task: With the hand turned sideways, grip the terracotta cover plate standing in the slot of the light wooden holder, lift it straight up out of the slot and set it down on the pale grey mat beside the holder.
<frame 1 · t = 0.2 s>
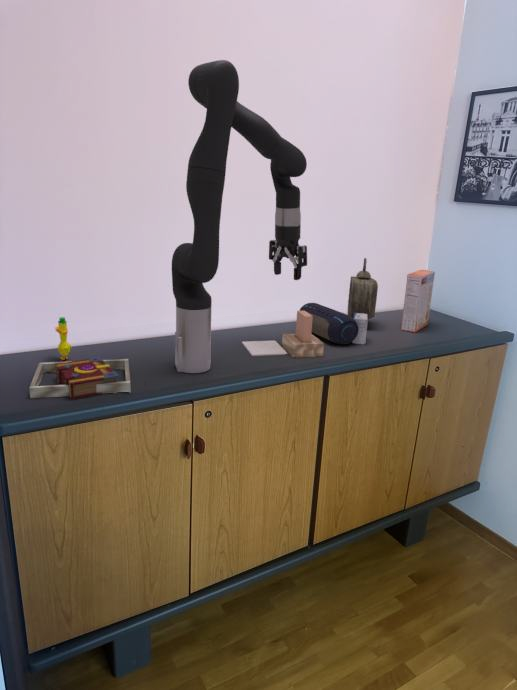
hand: (287, 276, 155), 22 cm above the sideboard top, tool pointing down, fingers open, 8 cm apart
portable speaker: (324, 337, 173), on the sideboard top, touching medicine box
toy figure: (64, 359, 140), on the sideboard top
cover plate: (303, 332, 155), in the plate holder
decorative book: (86, 386, 124), resting in display tray
plate holder: (301, 351, 157), on the sideboard top
medicine box: (358, 341, 170), on the sideboard top, touching portable speaker
mat: (264, 348, 157), on the sideboard top
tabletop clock: (359, 326, 189), on the sideboard top
cracker box: (413, 328, 190), on the sideboard top
display tray: (83, 381, 125), on the sideboard top
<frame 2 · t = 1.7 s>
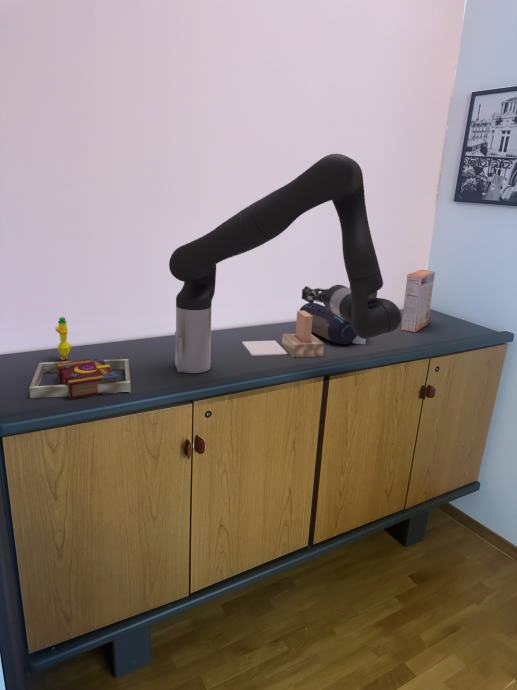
hand: (319, 289, 141), 21 cm above the sideboard top, tool horizontal, fingers open, 8 cm apart
portable speaker: (324, 337, 173), on the sideboard top
medicine box: (358, 341, 170), on the sideboard top
everything else where it was.
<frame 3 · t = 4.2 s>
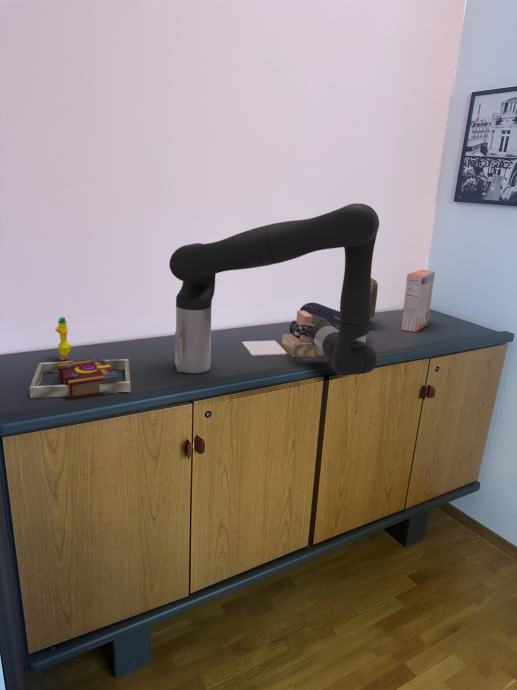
hand: (307, 323, 151), 10 cm above the sideboard top, tool horizontal, fingers open, 8 cm apart
nothing on the sideboard top moved.
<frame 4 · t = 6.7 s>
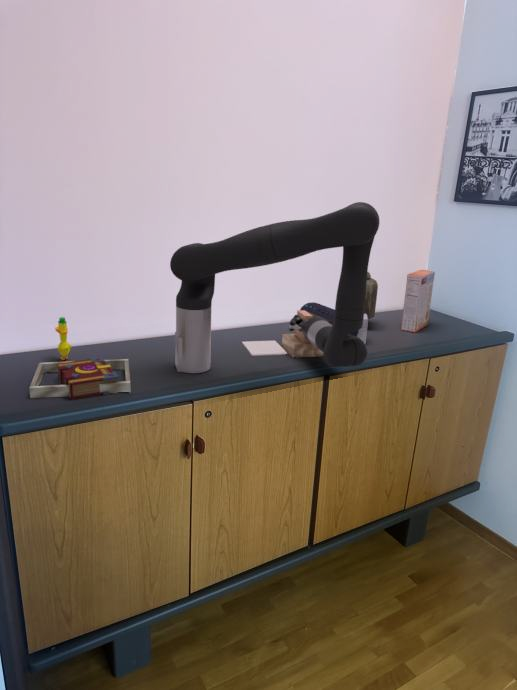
hand: (300, 317, 157), 10 cm above the sideboard top, tool horizontal, fingers closed on cover plate, 2 cm apart
cover plate: (303, 332, 155), in the plate holder, touching gripper
everything else where it was.
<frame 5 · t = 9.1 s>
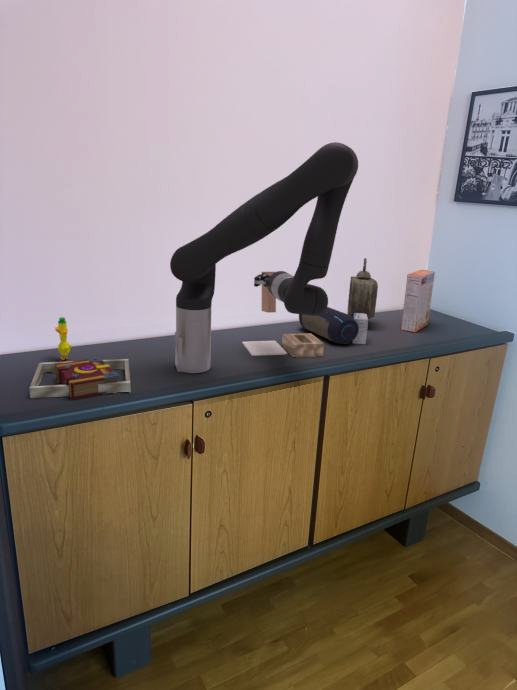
hand: (267, 276, 154), 22 cm above the sideboard top, tool horizontal, fingers closed on cover plate, 2 cm apart
cover plate: (268, 291, 154), point 18 cm above the sideboard top, tilted 10°, touching gripper
everything else where it was.
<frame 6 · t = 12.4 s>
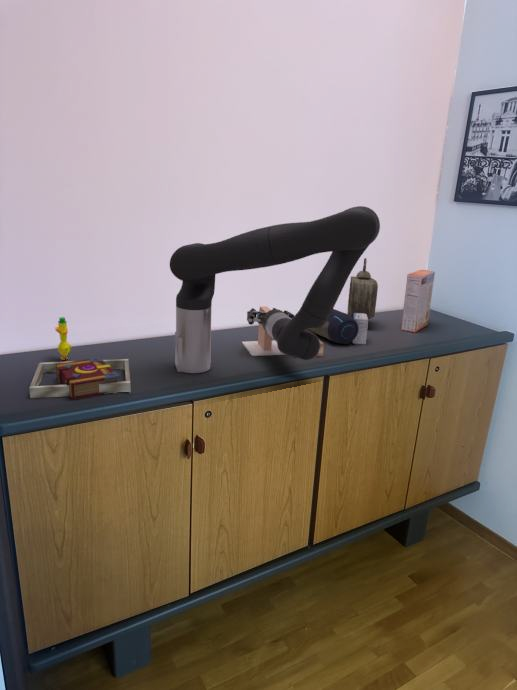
hand: (262, 311, 157), 11 cm above the sideboard top, tool horizontal, fingers open, 6 cm apart
cover plate: (265, 328, 156), on the mat
everything else where it was.
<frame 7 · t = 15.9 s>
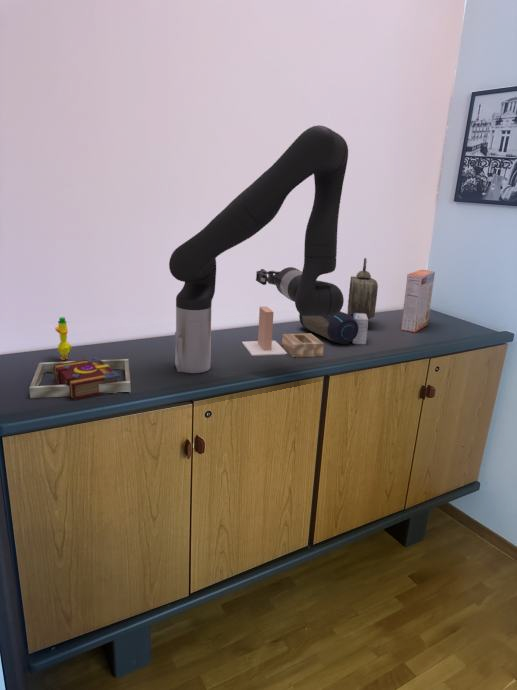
hand: (276, 273, 142), 25 cm above the sideboard top, tool horizontal, fingers open, 8 cm apart
portable speaker: (325, 336, 174), on the sideboard top, touching medicine box
medicine box: (358, 341, 170), on the sideboard top, touching portable speaker
everything else where it was.
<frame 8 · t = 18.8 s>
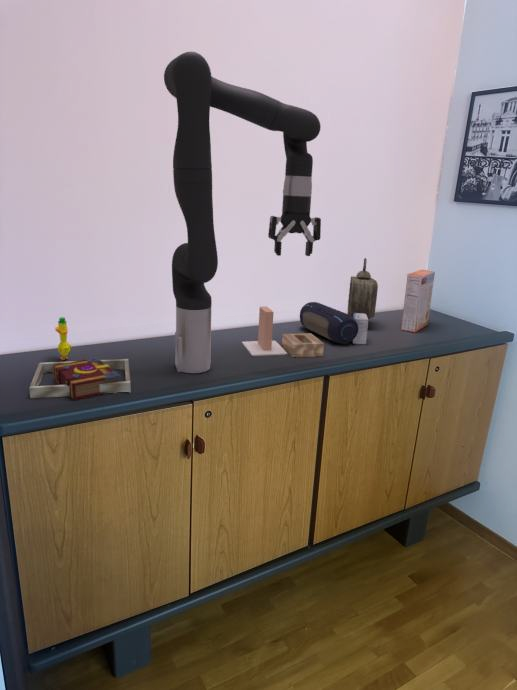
hand: (293, 255, 140), 30 cm above the sideboard top, tool pointing down, fingers open, 8 cm apart
nothing on the sideboard top moved.
at the end: cover plate inside the target area (0.4 cm from its centre), resting on mat; the gripper is holding nothing; cover plate touching mat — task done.
